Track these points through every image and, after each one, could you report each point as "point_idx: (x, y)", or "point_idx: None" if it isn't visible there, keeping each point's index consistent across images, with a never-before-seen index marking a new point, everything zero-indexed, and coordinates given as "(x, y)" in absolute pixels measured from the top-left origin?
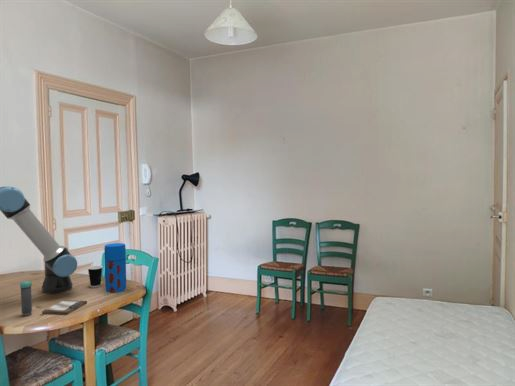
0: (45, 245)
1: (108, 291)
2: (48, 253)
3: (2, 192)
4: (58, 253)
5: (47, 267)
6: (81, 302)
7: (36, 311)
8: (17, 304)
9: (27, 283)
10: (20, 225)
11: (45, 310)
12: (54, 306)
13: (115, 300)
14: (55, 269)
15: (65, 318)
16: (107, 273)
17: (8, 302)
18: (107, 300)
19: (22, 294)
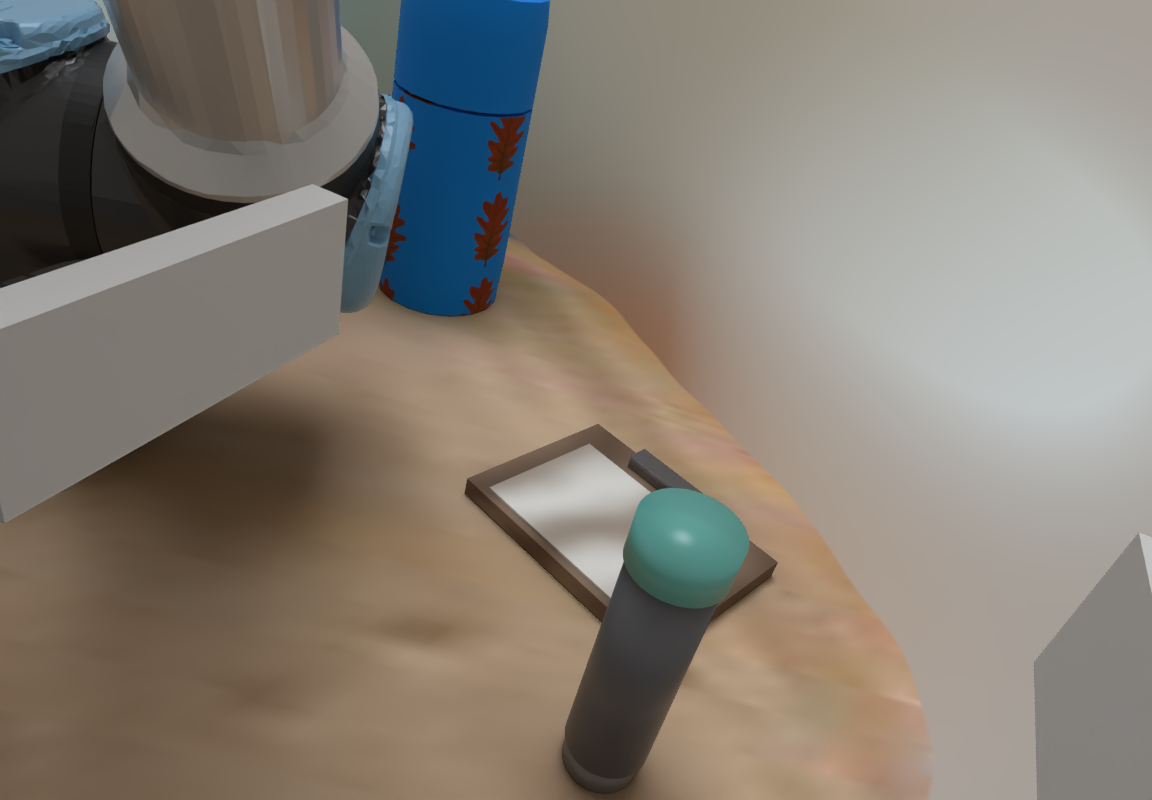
0: (328, 2)
1: (457, 311)
2: (314, 105)
3: None
4: (377, 95)
5: (4, 241)
6: (611, 448)
7: (551, 678)
8: (155, 735)
9: (743, 532)
10: None
11: None
12: (601, 564)
13: (641, 359)
14: (380, 267)
15: (841, 602)
16: (472, 202)
17: None
18: (614, 374)
19: (690, 651)
